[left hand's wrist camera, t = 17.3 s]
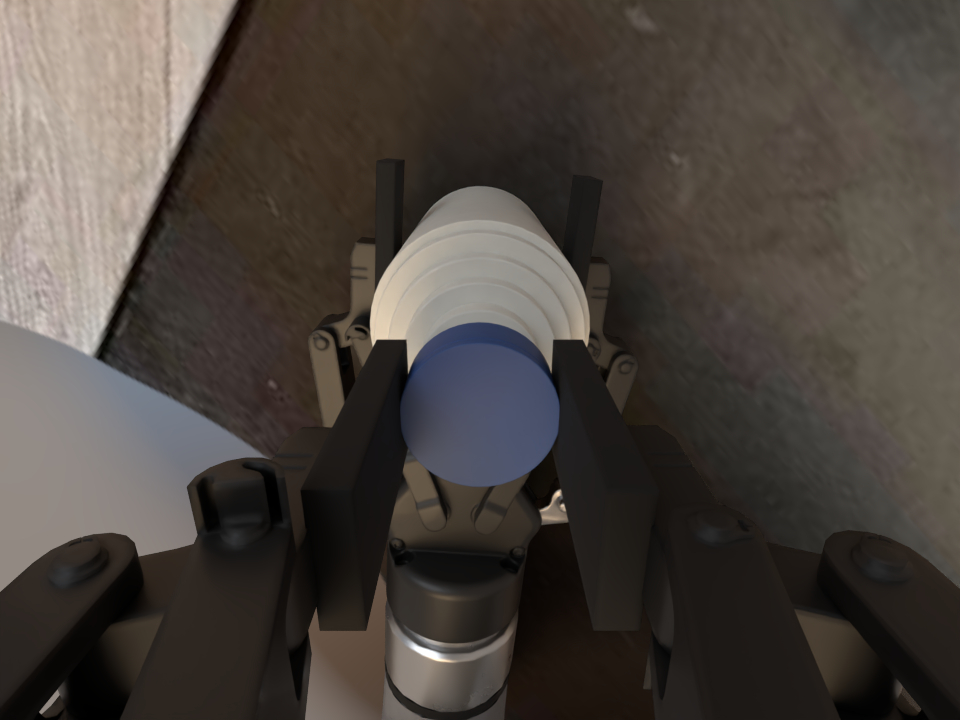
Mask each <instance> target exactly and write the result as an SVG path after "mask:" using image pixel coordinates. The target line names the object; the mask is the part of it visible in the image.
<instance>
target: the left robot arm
mask: <svg viewBox="0 0 960 720" xmlns="http://www.w3.org/2000/svg"><path fill="white" fill-rule="evenodd" d="M551 374H552V377H553V380H554V384H555V387H556V390H557V394H558V397H559V402H560V410H559V427H558V435H557V438H556V440H555V442H554V445H553V446H552V452H553V457H554V461H555V465H556V470H557V474H558V478H559V483H560V487H561V491H562V496H563V500H564V505H565V509H566V513H567V518H568V522H569V526H570V531H571V535H572V539H573V544H574V548H575V552H576V557H577V561H578V565H579V570H580V574H581V578H582V583H583V587H584V592H585V596H586V600H587V605H588V609H589V613H590V618H591V622H592V626H593V631H640V625H641V618H642V611H643V605H644V607H645V610H646V613H647V616H648V619H649V622H650V625H651V627H652V633H651V640H650V646H649V653H648V660H647V666H646V673H645V680H644V686H643V689H649V690H650V689H651V684H652V692H653V702H654V712H655V720H960V589H959V588H958V587H957V586H956V585H955V584H954V583H953V582H951V581H950V580H949V579H948V578H947V577H946V576H945V575H944V574H942V573H941V572H940V571H939V570H938V569H937V568H936V567H934V566H933V565H932V564H931V563H930V562H929V561H928V560H926V559H925V558H924V557H922V556H921V555H919V554H918V553H916V552H915V551H914V550H912V549H911V548H909V547H907V546H905V545H903V544H901V543H898V542H896V541H894V540H892V539H890V538H888V537H885V536H882V535H877V534H874V533H869V532H862V531H851V530H847V531H842V532H837V533H833V534H832V535H831V536H830V537H829V538H828V539H827V540H826V541H825V545H824V548H823V552H822V554H817V553H813V552H808V551H803V550H798V549H793V548H789V547H784V546H780V545H776V544H773V543H769V542H766V541H765V539H764V537H763V534H762V533H761V532H760V530H759V529H758V527H757V526H756V525H755V523H754V522H752V521H751V520H750V519H748V518H747V517H745V516H744V515H743V514H741V513H739V512H737V511H735V510H733V509H730V508H728V507H726V506H722V505H718V503H717V502H716V500H715V499H714V497H713V495H712V494H711V492H710V491H709V489H708V488H707V486H706V485H705V483H704V482H703V480H702V479H701V477H700V475H699V474H698V472H697V471H696V469H695V468H694V467H692V463H691V462H690V460H689V459H688V457H687V455H685V454H684V453H685V452H684V451H683V449H682V448H681V446H680V445H679V443H678V442H677V440H676V438H675V437H673V436H672V435H670V434H669V433H667V432H666V431H664V430H663V429H661V428H660V427H659V426H657V425H626V423H625V422H624V420H623V418H622V416H621V414H620V412H619V410H618V408H617V406H616V404H615V402H614V400H613V398H612V396H611V394H610V392H609V390H608V388H607V386H606V384H605V382H604V380H603V378H602V376H601V374H600V372H599V370H598V368H597V366H596V364H595V363H594V361H593V359H592V357H591V355H590V353H589V351H588V349H587V347H586V345H585V343H584V341H583V339H553V350H552V370H551ZM407 377H408V357H407V339H377V340H376V342H375V344H374V346H373V348H372V350H371V352H370V354H369V356H368V358H367V360H366V362H365V364H364V366H363V368H362V370H361V372H360V374H359V376H358V377H357V379H356V381H355V383H354V385H353V387H352V389H351V391H350V393H349V395H348V397H347V399H346V401H345V403H344V405H343V407H342V409H341V411H340V413H339V415H338V417H337V419H336V421H335V423H334V425H333V427H302V428H301V429H300V430H298V431H297V432H295V433H294V434H292V435H291V436H289V437H288V438H287V439H285V440H284V442H283V443H282V445H281V446H280V448H279V449H278V451H277V453H276V454H275V457H273V459H272V460H269V459H265V458H241V459H236V460H230V461H226V462H223V463H221V464H218V465H215V466H213V467H210V468H208V469H207V470H205V471H204V472H202V473H200V474H199V475H197V476H196V477H195V478H194V479H193V480H192V481H191V482H190V484H189V485H188V486H187V490H188V494H189V499H190V503H191V508H192V512H193V516H194V521H195V525H196V530H197V534H198V535H197V538H196V540H195V542H194V544H192V545H189V546H185V547H181V548H178V549H174V550H169V551H164V552H159V553H154V554H149V555H145V556H140V557H138V553H137V550H136V546H135V543H134V542H133V541H132V540H131V539H130V538H129V537H127V536H126V535H121V534H115V533H104V534H93V535H89V536H84V537H82V538H77V539H74V540H71V541H69V542H67V543H65V544H63V545H61V546H59V547H57V548H55V549H52V550H51V551H49V552H48V553H46V554H45V555H43V556H42V557H41V558H39V559H38V560H36V561H35V562H34V563H32V564H31V565H30V566H29V567H28V568H27V569H26V570H25V571H23V572H22V573H21V574H20V575H19V576H18V577H17V578H16V579H14V580H13V581H12V582H11V583H10V584H9V585H8V586H7V587H5V588H4V589H3V590H2V591H1V592H0V720H305V713H306V703H307V694H308V684H309V674H310V664H311V655H312V653H311V647H310V640H309V633H308V629H309V626H310V623H311V620H312V618H313V615H314V612H315V609H316V607H317V614H318V621H319V628H320V631H366V629H367V625H368V620H369V616H370V612H371V607H372V603H373V599H374V594H375V590H376V586H377V581H378V577H379V573H380V568H381V564H382V560H383V555H384V551H385V546H386V542H387V538H388V533H389V529H390V525H391V520H392V516H393V512H394V507H395V503H396V499H397V494H398V490H399V486H400V481H401V477H402V473H403V468H404V464H405V459H406V455H407V451H408V447H407V445H406V443H405V441H404V438H403V436H402V432H401V417H400V400H401V397H402V393H403V390H404V387H405V383H406V380H407ZM902 687H904V688H905V689H906V691H907V692H908V693H909V694H910V695H911V697H912V698H913V699H914V700H915V701H916V703H917V704H918V705H919V706H920V708H921V711H920V712H918V711H916V710H915V709H914V708H913V707H912V706H911V705H910V704H909V703H908V701H907V700H906V699H905V698H904V696H903V695H902V694H901V690H902ZM57 689H58V691H59V694H60V695H59V697H58V698H57V699H56V701H55V702H54V703H53V704H52V705H51V706H50V707H49V708H48V709H47V710H46V711H45V712H44V713H43V714H42V715H41V714H40V713H39V711H40V710H41V709H42V707H43V706H44V705H45V704H46V703H47V701H48V700H49V699H50V698H51V697H52V695H53V694H54V693H55V692H56V690H57Z"/></svg>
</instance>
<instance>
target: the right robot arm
mask: <svg viewBox="0 0 960 720" xmlns="http://www.w3.org/2000/svg"><path fill="white" fill-rule="evenodd" d="M602 183H603V181H602V180H599V179H596V178H593V177H590V176H580V175H573V181H572V189H571V196H570V203H569V210H568V218H567V225H566V232H565V239H564V246H563V255H564V256H565V258H566V259H567V261H568V262H569V264H570V265H571V267H572V268H573V270H574V271H575V273H576V274H577V276H578V278H579V280H580V282H581V284H582V287H583V289H584V292H585V296H586V299H587V303H588V309H589V315H590V332H589V340H588V345H587V349H588V351H589V353H590V355H591V357H592V359H593V361H594V363H595V364H596V366H597V368H598V370H599V372H600V374H601V376H602V378H603V380H604V382H605V384H606V386H607V388H608V390H609V392H610V394H611V396H612V398H613V400H614V402H615V404H616V406H617V408H618V410H619V412H620V414H621V415H622V413H623V410H624V407H625V404H626V401H627V399H628V396H629V393H630V390H631V388H632V385H633V382H634V379H635V377H636V374H637V371H638V366H639V364H638V361H637V359H636V358H635V356H634V355H633V353H632V352H631V351H630V349H629V348H628V346H627V345H626V344H625V342H624V341H623V340H622V339H621V338H618V337H612V336H609V335H607V334H605V333H603V323H604V317H605V311H606V306H607V300H608V294H609V288H610V283H611V277H612V275H611V271H610V266H609V264H608V263H607V262H606V261H605V260H604V259H603V258H602V257H591V253H592V246H593V240H594V234H595V227H596V221H597V215H598V208H599V202H600V196H601V189H602ZM403 191H404V160H398V159H383V160H378V161H377V164H376V234H375V238H365V237H362V238H360V239H359V240H358V241H357V242H356V243H355V245H354V247H353V250H352V252H351V308H350V311H349V312H346V313H343V314H339V315H336V314H331V315H328V316H326V317H325V318H324V319H323V320H322V321H321V323H320V324H319V325H318V326H317V327H316V328H315V329H314V331H313V332H312V333H311V334H310V336H309V338H308V347H309V352H310V358H311V363H312V368H313V374H314V379H315V385H316V390H317V396H318V401H319V407H320V412H321V417H322V423H323V427H333V425H334V423H335V421H336V419H337V417H338V415H339V413H340V411H341V409H342V407H343V405H344V403H345V401H346V399H347V397H348V395H349V393H350V391H351V389H352V387H353V385H354V383H355V375H354V368H353V362H352V356H351V349H350V346H351V345H353V346H354V349H355V351H356V353H357V356H358V358H359V361H360V363H361V365H362V368H363V366H364V364H365V362H366V360H367V358H368V356H369V354H370V352H371V350H372V348H373V346H372V340H371V335H370V316H371V307H372V303H373V299H374V294H375V292H376V289H377V287H378V284H379V282H380V280H381V278H382V276H383V274H384V273H385V271H386V269H387V267H388V266H389V265H390V263H391V262H392V260H393V259H394V258H395V256H396V255H397V253H398V252H399V251H400V249H401V248H402V223H403ZM530 473H531V471H530V472H528V473H527V474H525V475H523V476H522V477H520V478H518V479H515V480H513V481H511V482H508V483H504V484H501V485H495V486H488V487H471V486H464V485H459V484H456V483H452V482H449V481H447V480H444V479H442V478H440V477H438V476H436V475H435V474H433V473H432V472H430V471H429V470H427V469H426V468H425V467H424V466H423V465H422V464H420V463H419V462H418V461H417V459H416V458H415V457H414V456H413V455H412V453H411V452H410V450H409V448H408V451H407V455H406V459H405V464H404V468H403V473H402V477H401V481H400V486H399V490H398V494H397V499H396V503H395V507H394V512H393V516H392V520H391V525H390V529H389V533H388V549H387V585H386V592H387V602H386V621H385V682H384V697H383V711H382V720H504V713H505V703H506V692H507V683H508V677H509V672H510V666H511V662H512V656H513V649H514V642H515V636H516V629H517V622H518V607H519V604H520V599H521V592H522V585H523V578H524V571H525V564H526V557H527V550H528V546H529V543H530V541H531V540H532V538H533V537H534V536H535V535H536V533H537V532H538V531H539V529H540V527H541V525H547V524H556V523H566V522H568V518H567V513H566V509H565V505H564V500H563V496H562V491H561V487H560V483H559V478H558V477H557V478H555V479H554V482H553V483H552V484H551V486H550V489H549V493H548V494H547V495H546V496H545V497H544V498H541V499H537V497H536V496H535V494H534V493H533V491H532V490H531V488H530V487H529V485H528V484H527V482H526V480H527V478H528V477H529V475H530Z"/></svg>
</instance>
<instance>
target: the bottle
mask: <svg viewBox="0 0 960 720" xmlns="http://www.w3.org/2000/svg"><path fill="white" fill-rule="evenodd" d="M474 322H485V323H494V324H499V325H502V326H506V327H509V328H511V329H513V330H515V331H517V332H519V333H521V334H522V335H524V336H525V337H527V338H528V339H529V340H530V341H531V342H533V343H534V344H535V346H536V347H537V348H538V349H539V350H540V351H541V353H542V354H543V356H544V357H545V359H546V361H547V363H548V365H549V368H550V371H551V370H552V350H553V339H583V341H584V343H585V345H586V347H587V345H588V340H589V332H590V315H589V309H588V303H587V299H586V296H585V292H584V289H583V287H582V284H581V282H580V280H579V278H578V276H577V274H576V273H575V271H574V270H573V268H572V267H571V265H570V264H569V262H568V261H567V259H566V258H565V256H564V255H563V254H562V252H561V251H560V249H559V248H558V247H557V245H556V244H555V242H554V241H553V240H552V238H551V237H550V235H549V234H548V233H547V231H546V230H545V228H544V227H543V226H542V224H541V223H540V221H539V220H538V219H537V217H536V216H535V214H534V213H533V212H532V211H531V209H530V208H529V207H528V206H527V205H526V204H525V203H524V202H522V201H521V200H520V199H519V198H517V197H516V196H514V195H512V194H510V193H508V192H506V191H504V190H501V189H497V188H493V187H487V186H474V187H467V188H463V189H459V190H457V191H454V192H451V193H450V194H448V195H446V196H444V197H443V198H441V199H440V200H439V201H437V202H436V203H435V204H434V205H433V206H432V207H431V208H430V209H429V210H428V212H427V213H426V214H425V216H424V217H423V218H422V220H421V221H420V223H419V224H418V225H417V227H416V228H415V230H414V231H413V232H412V234H411V235H410V237H409V238H408V239H407V241H406V242H405V244H404V245H403V246H402V248H401V249H400V251H399V252H398V253H397V255H396V256H395V258H394V259H393V260H392V262H391V263H390V265H389V266H388V267H387V269H386V271H385V273H384V274H383V276H382V278H381V280H380V282H379V284H378V287H377V289H376V292H375V294H374V299H373V303H372V307H371V316H370V335H371V340H372V346H374V344H375V342H376V340H377V339H407V357H408V374H409V370H410V367H411V365H412V363H413V361H414V359H415V357H416V355H417V354H418V352H419V351H420V350H421V349H422V347H423V346H424V345H425V344H426V343H427V342H428V341H430V340H431V339H432V338H433V337H435V336H436V335H438V334H439V333H441V332H443V331H445V330H447V329H449V328H451V327H454V326H457V325H461V324H466V323H474Z"/></svg>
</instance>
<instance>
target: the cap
mask: <svg viewBox="0 0 960 720" xmlns="http://www.w3.org/2000/svg"><path fill="white" fill-rule="evenodd" d="M559 410H560V402H559V397H558V394H557V390H556V387H555V384H554V380H553V377H552V374H551V371H550V368H549V365H548V363H547V361H546V359H545V357H544V356H543V354H542V353H541V351H540V350H539V349H538V348H537V347H536V346H535V344H534V343H533V342H531V341H530V340H529V339H528V338H527V337H525V336H524V335H522V334H521V333H519V332H517V331H515V330H513V329H511V328H509V327H506V326H502V325H499V324H494V323H485V322H474V323H466V324H461V325H457V326H454V327H451V328H449V329H447V330H445V331H443V332H441V333H439V334H438V335H436V336H435V337H433V338H432V339H431V340H430V341H428V342H427V343H426V344H425V345H424V346H423V347H422V349H421V350H420V351H419V352H418V354H417V355H416V357H415V359H414V361H413V363H412V365H411V367H410V370H409V374H408V377H407V380H406V383H405V387H404V390H403V393H402V397H401V400H400V417H401V432H402V436H403V438H404V441H405V443H406V445H407V447H408V448H409V450H410V452H411V453H412V455H413V456H414V457H415V458H416V459H417V461H418V462H419V463H420V464H422V465H423V466H424V467H425V468H426V469H427V470H429V471H430V472H432V473H433V474H435V475H436V476H438V477H440V478H442V479H444V480H447V481H449V482H452V483H456V484H459V485H464V486H471V487H488V486H495V485H501V484H504V483H508V482H511V481H513V480H515V479H518V478H520V477H522V476H523V475H525V474H527V473H528V472H530V471H531V470H532V469H534V468H535V467H536V466H537V465H538V464H539V463H540V462H541V461H542V460H543V459H544V458H545V457H546V455H547V454H548V453H549V451H550V450H551V448H552V446H553V445H554V442H555V440H556V438H557V435H558V427H559Z"/></svg>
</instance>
